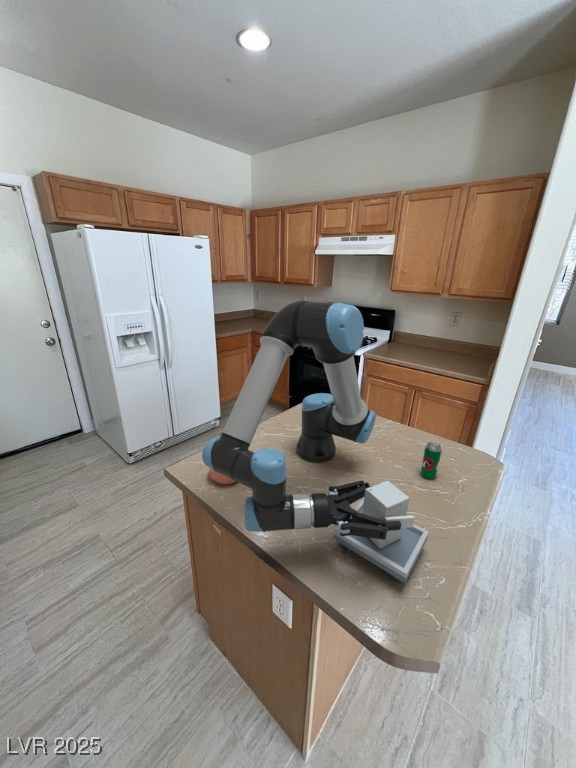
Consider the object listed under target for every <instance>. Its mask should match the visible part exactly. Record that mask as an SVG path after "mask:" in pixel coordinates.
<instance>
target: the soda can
mask: <svg viewBox="0 0 576 768" xmlns="http://www.w3.org/2000/svg"><path fill="white" fill-rule="evenodd" d="M442 452H443V451H442V446H441V444H439V443H438V442H434V441H429V442H427V443H426V444H425V447H424V451H423V457H422V463H421V466H420V467H421V468H420V472H419V473H420V475H421V476H422V477H423V478H424V479H427V480H434V479H436V477H437V475H438V469H439V466H440V461H441V456H442V455H441V454H442Z"/></svg>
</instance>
